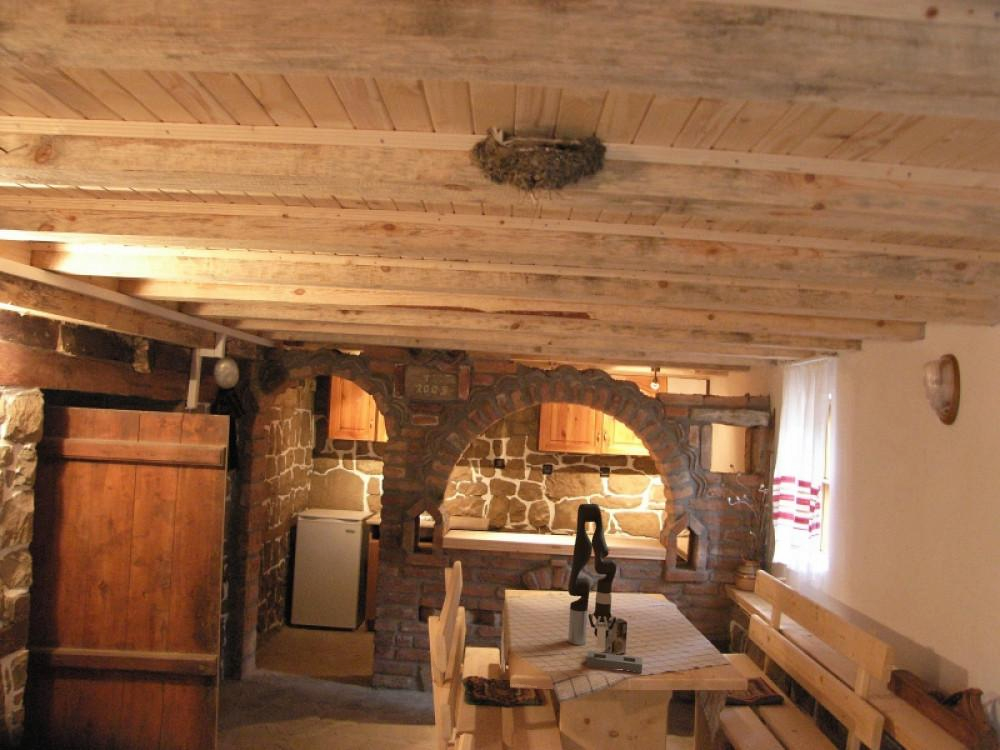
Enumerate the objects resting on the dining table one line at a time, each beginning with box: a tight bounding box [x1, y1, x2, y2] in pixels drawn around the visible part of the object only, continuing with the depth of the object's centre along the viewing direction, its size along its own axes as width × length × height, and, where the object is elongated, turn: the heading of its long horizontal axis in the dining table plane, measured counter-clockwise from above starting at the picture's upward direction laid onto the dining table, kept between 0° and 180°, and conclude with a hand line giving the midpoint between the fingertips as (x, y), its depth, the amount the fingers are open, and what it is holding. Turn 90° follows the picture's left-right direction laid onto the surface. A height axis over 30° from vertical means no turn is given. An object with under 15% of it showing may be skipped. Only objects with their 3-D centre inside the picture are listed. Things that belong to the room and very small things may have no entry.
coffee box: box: [604, 617, 628, 655], centre depth 385 cm, size 9×6×16 cm
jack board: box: [585, 650, 643, 674], centre depth 364 cm, size 10×26×4 cm, turn 80°
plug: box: [595, 622, 606, 650], centre depth 366 cm, size 4×4×11 cm
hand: (601, 636), depth 366 cm, fingers closed on plug, 4 cm apart
